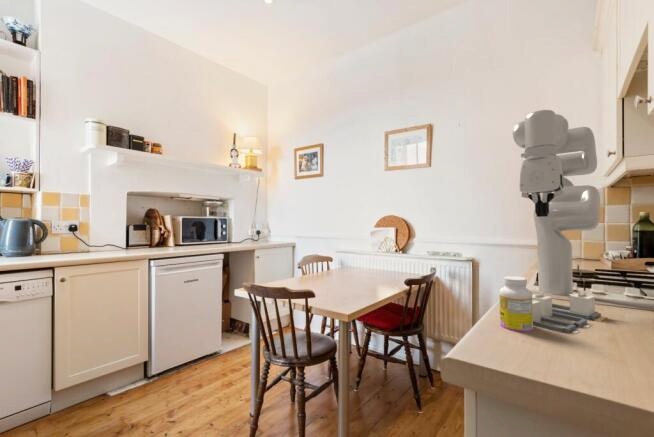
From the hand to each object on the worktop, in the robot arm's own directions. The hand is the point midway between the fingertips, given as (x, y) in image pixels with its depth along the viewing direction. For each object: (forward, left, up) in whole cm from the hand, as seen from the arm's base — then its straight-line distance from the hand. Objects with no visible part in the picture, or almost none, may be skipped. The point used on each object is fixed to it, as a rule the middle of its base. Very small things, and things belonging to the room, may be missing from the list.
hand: (542, 216), depth 93 cm
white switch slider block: (+4, +11, -26) cm, 28 cm away
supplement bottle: (+26, +5, -27) cm, 38 cm away
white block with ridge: (+13, +5, -26) cm, 29 cm away
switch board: (+11, +8, -27) cm, 30 cm away
